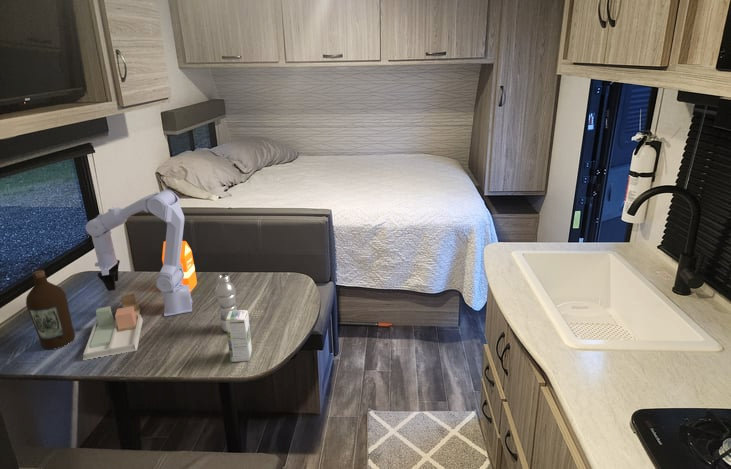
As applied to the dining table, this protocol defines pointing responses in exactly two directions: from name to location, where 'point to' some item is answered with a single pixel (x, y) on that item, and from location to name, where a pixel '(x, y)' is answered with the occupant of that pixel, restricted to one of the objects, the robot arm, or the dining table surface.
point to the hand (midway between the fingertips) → (113, 285)
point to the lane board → (115, 342)
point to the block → (125, 317)
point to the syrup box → (239, 335)
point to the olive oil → (49, 312)
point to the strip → (103, 327)
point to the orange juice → (186, 265)
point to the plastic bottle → (225, 297)
